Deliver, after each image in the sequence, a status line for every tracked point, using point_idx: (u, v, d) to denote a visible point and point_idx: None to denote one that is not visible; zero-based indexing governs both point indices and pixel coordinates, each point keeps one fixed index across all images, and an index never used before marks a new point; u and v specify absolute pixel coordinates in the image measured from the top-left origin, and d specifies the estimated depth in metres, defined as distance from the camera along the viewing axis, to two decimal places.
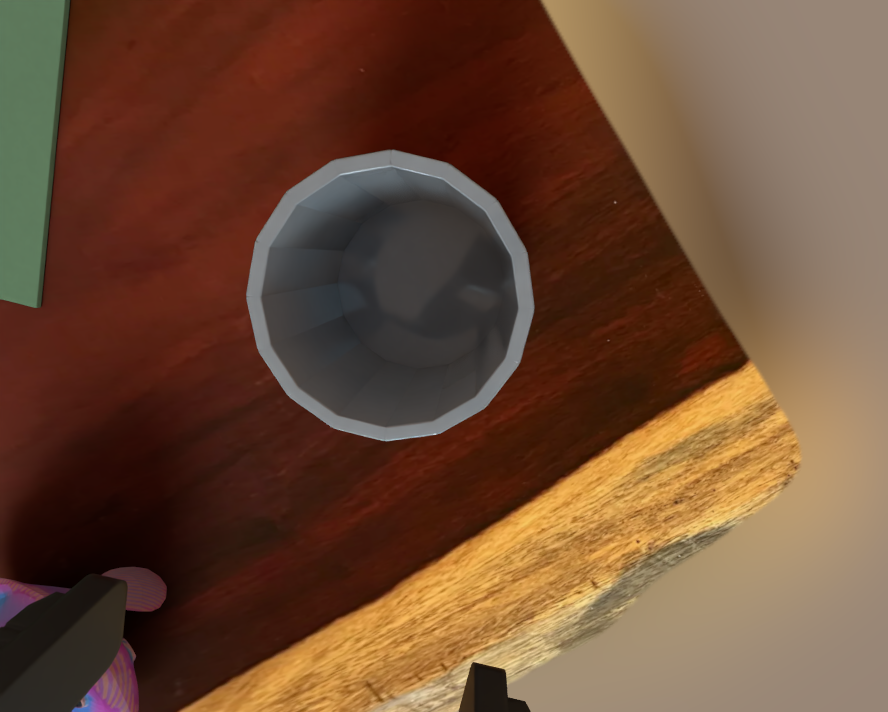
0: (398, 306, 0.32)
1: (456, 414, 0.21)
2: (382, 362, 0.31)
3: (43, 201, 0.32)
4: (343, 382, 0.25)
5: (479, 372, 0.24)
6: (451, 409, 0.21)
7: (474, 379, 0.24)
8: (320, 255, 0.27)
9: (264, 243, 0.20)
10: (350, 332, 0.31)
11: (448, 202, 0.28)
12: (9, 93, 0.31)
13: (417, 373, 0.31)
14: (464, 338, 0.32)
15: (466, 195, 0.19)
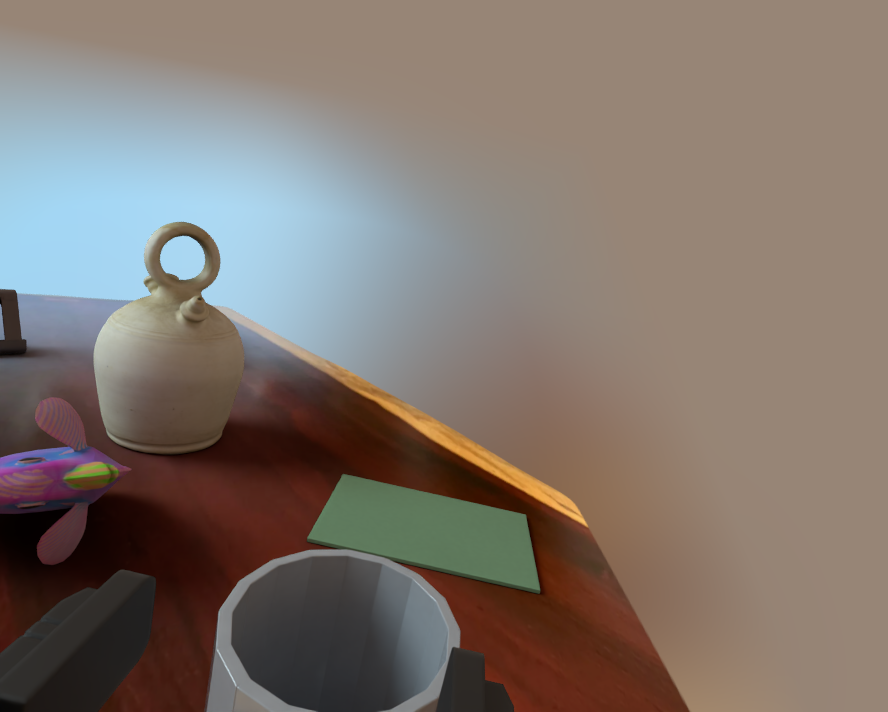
0: None
1: (234, 662, 0.21)
2: None
3: (376, 552, 0.50)
4: (253, 636, 0.27)
5: None
6: None
7: None
8: (355, 665, 0.31)
9: (384, 561, 0.29)
10: None
11: None
12: (437, 550, 0.52)
13: None
14: None
15: (436, 675, 0.23)
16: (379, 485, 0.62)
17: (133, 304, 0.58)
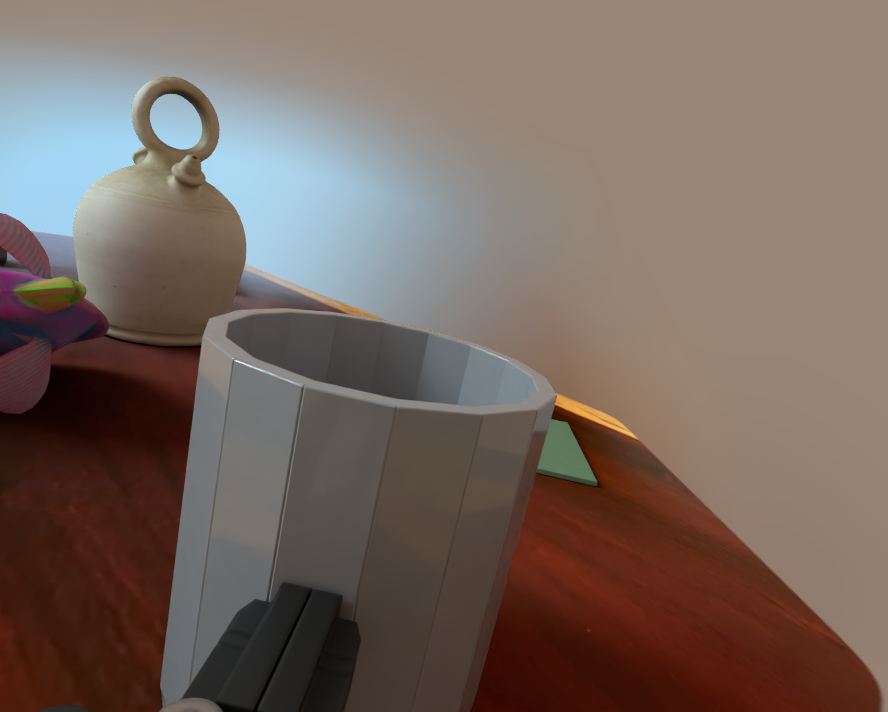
0: None
1: (230, 345, 0.14)
2: None
3: None
4: None
5: None
6: None
7: None
8: None
9: (431, 331, 0.22)
10: None
11: None
12: None
13: None
14: None
15: (529, 397, 0.15)
16: None
17: None
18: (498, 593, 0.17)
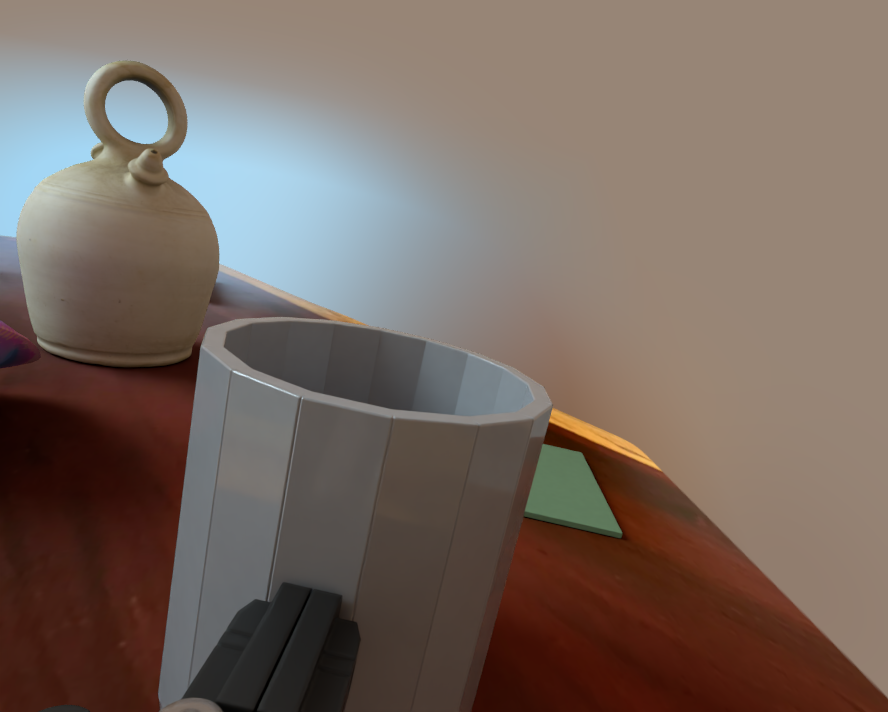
0: None
1: (227, 356, 0.14)
2: None
3: None
4: None
5: None
6: None
7: None
8: None
9: (429, 339, 0.22)
10: None
11: None
12: None
13: None
14: None
15: (525, 406, 0.15)
16: None
17: None
18: (495, 601, 0.17)
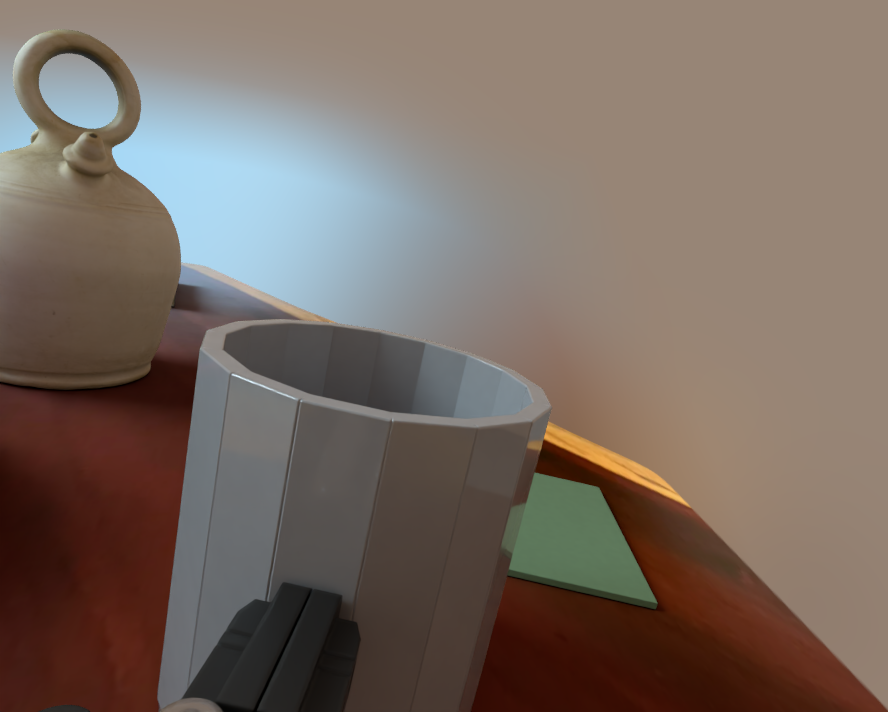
0: None
1: (227, 359, 0.14)
2: None
3: None
4: None
5: None
6: None
7: None
8: None
9: (428, 341, 0.22)
10: None
11: None
12: None
13: None
14: None
15: (524, 408, 0.15)
16: None
17: None
18: (494, 603, 0.17)
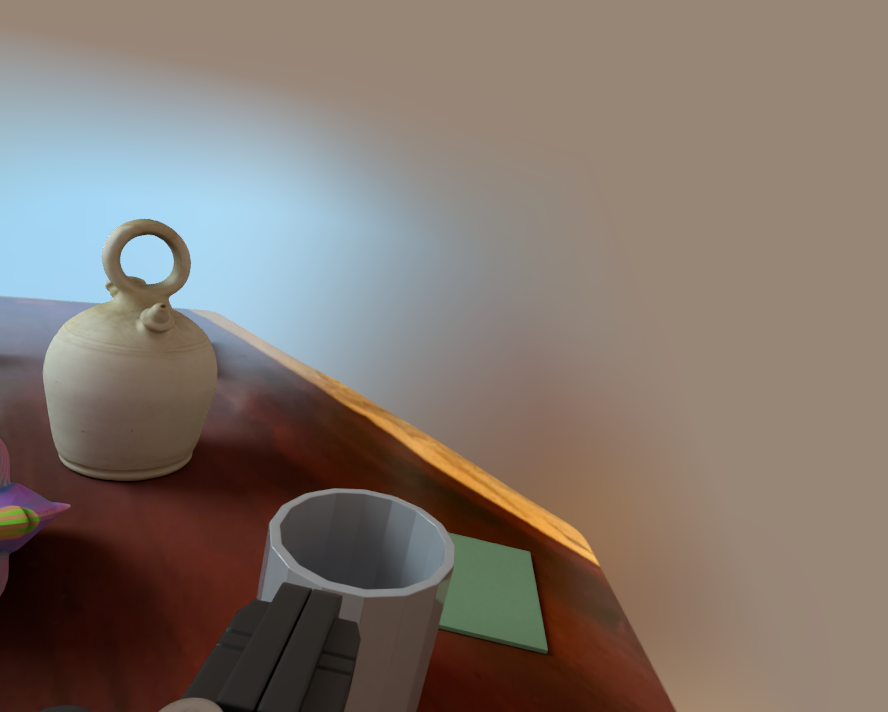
0: None
1: (285, 554, 0.28)
2: None
3: None
4: (290, 553, 0.34)
5: None
6: None
7: None
8: (369, 585, 0.38)
9: (394, 498, 0.37)
10: None
11: None
12: None
13: None
14: None
15: (437, 571, 0.30)
16: None
17: (90, 311, 0.52)
18: (423, 668, 0.31)
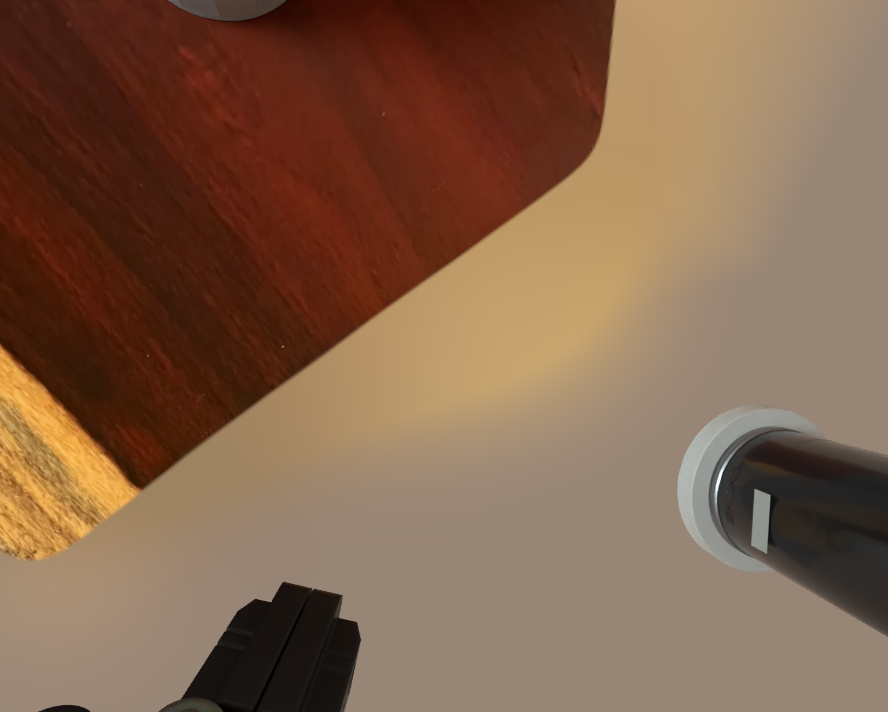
0: None
1: None
2: None
3: None
4: None
5: None
6: None
7: None
8: None
9: None
10: None
11: None
12: None
13: None
14: None
15: None
16: None
17: None
18: None
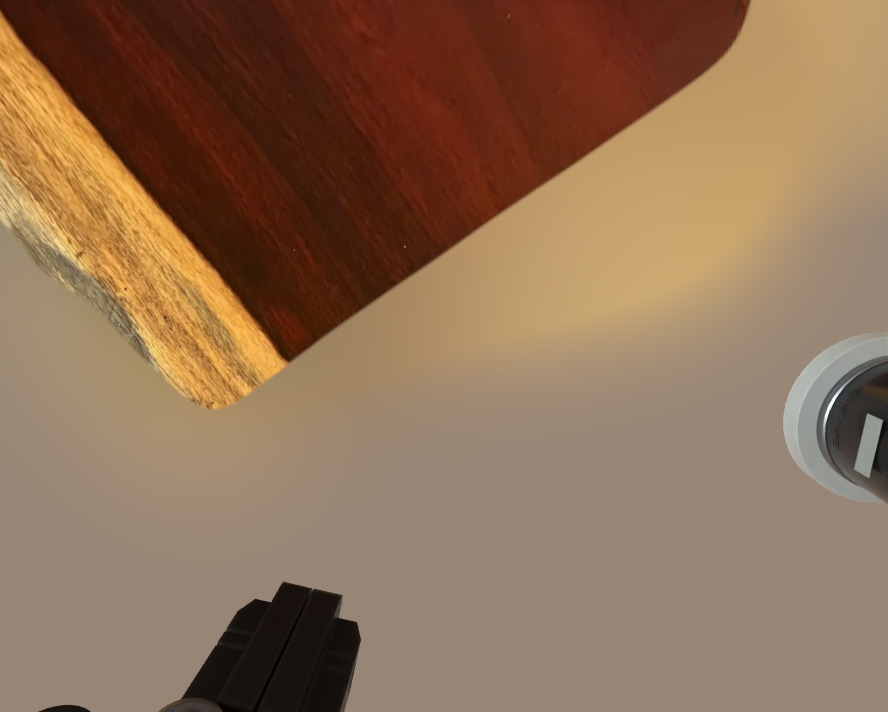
0: None
1: None
2: None
3: None
4: None
5: None
6: None
7: None
8: None
9: None
10: None
11: None
12: None
13: None
14: None
15: None
16: None
17: None
18: None
